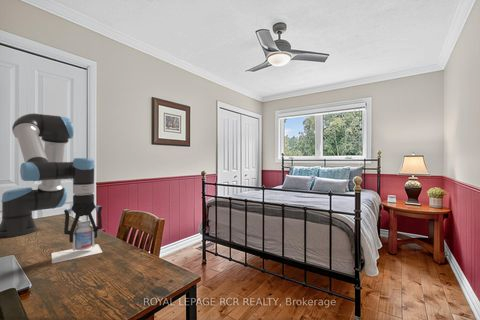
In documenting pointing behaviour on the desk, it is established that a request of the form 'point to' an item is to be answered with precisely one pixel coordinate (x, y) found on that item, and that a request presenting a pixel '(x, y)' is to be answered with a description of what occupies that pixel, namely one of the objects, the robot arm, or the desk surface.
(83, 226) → the pill bottle
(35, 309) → the desk surface
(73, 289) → the desk surface
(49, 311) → the desk surface
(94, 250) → the paper
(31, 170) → the robot arm
